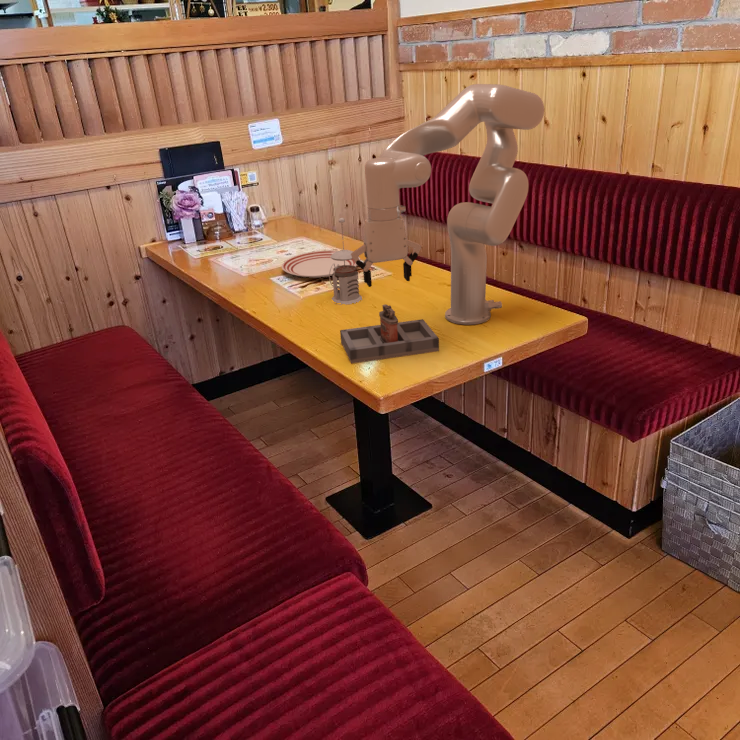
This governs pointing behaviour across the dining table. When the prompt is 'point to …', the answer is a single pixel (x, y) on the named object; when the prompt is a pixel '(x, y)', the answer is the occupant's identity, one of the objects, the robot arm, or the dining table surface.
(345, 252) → the french press
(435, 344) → the tray
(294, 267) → the dinner plate
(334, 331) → the dining table surface
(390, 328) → the lighter
